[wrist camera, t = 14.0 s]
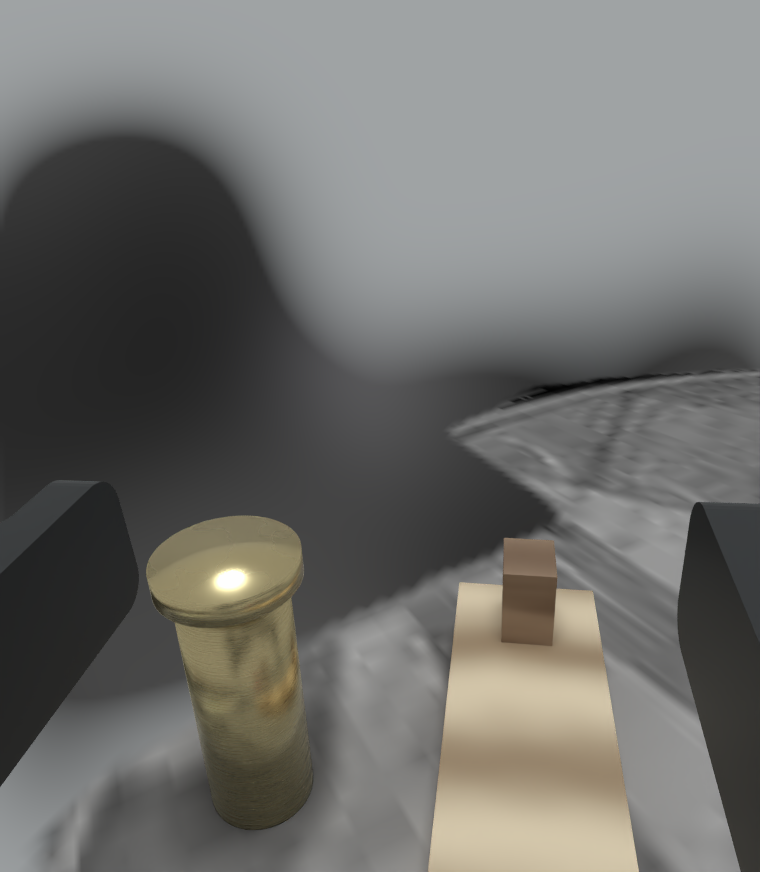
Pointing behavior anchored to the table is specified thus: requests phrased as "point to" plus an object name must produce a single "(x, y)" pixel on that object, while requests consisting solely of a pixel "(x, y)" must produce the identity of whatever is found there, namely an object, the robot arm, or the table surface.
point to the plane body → (529, 731)
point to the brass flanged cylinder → (240, 660)
